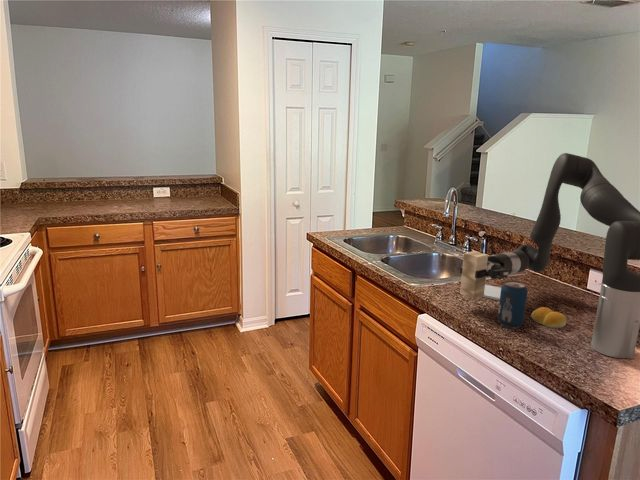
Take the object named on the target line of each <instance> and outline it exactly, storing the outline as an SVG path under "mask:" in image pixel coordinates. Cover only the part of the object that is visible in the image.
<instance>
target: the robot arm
mask: <svg viewBox="0 0 640 480" xmlns="http://www.w3.org/2000/svg"><path fill="white" fill-rule="evenodd" d="M562 184H564V185H569V186H573V187H576V188H580V190H581V192H580V195H579V196H580V197H579V199H580V204H581V205H582V207H583V208H584V209H585V211H586V212H587V214H588V215H589V216H590V217H592V219H593V220H595V221H597V222H599V223H601V224H602V225H603V224H604V225H605V226H608V227H609V228H608V230H607V232H606V236H605V244H604V254H603V260H602V261H603V262H602V280H601V285H600V291H599V297H598V304H597V309H596V313H595V320H594V325H593V332H592V337H591V342H590V343H591V344H590V346H591V349H593V350H594V351H596V352H598V353H599V354H602V355H603V356H607V357H611V358H615V359H630V360H634V355H635V351H636V347H637V341H638V337H639V336H638V335H639V330H640V273H639V272H636V271H634V270H632V269H629V268H628V260H629V261H630V260H631V261H632V260H633V261H640V210H639V209H638V208H636V207H635V206H634V205H633V204H632V203H631V202H630V201H629V200H628V199H627V198H625V197H624V195H623V194H622V193H621V191H619V190H618V189H617V188H616V187H615V186H614V185H613V184H612V183H611V182H610V181H609V180H608V179H607V178H606V177H605V176H604V175H603V173H602V172H601V171H600V169H599V167H598V165H597V164H596V162H594V161H593V160H592V159H591V158H588V157H585V156H581V155H576V154H572V153H569V152H564V153H561V154H560V155H558V157H557V159H556V160H555V161H554V163H553V165H552V169H551V171H550V175H549V178H548V182H547V185H546V189H545V193H544V196H543V201H542V204H541V208H540V211H539V212H538V213H539V214H538V216H537V219H536V221H535V223H534V225H533V228H532V229H531V231H530V236H529V237H530V239H531V240H532V242H534V243H535V244H536V246H537V248H536V247H535V246H533V245H531V244H521V245H520V246H519V247H517V248H516V249H515V250H514V251H509V252H508V251H507V252H500V253H495V254H491V255H488V261H487V268H486V269H485V270H484V269H483V270H479V271H476V272H475V278H477V279H478V278H482V277H486V279H487V278H490V279H493V280H495V279H496V280H497V279H505V278H509V276H511V275H515V274H517V273H520V272H521V273H522V272H523V271H526V270H527V269H530V270H531V271H532V272H535V273H540V272H543V271H545V270H546V269H547V267H548V265H549V263H550V258H551V250H552V247H553V246H552V244H553V241H554V239H555V236H556V234H557V232H558V230H559V227H560V224H561V216H562V215H561V209H560V203H559V195H560V194H559V193H560V189H561V188H562ZM462 266H463V265H462ZM462 266H460V267H459V273H460V274H461V275H462V268H463V267H462Z"/></svg>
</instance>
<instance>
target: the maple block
mask: <svg viewBox="0 0 640 480" xmlns="http://www.w3.org/2000/svg"><path fill="white" fill-rule="evenodd" d="M462 255H463V258H462V267H463V268H462V274H461V276H460V277H461V279H460V290H459V291H460V292H459V294H460V295H462V296H464V297H467V298H470V299H472V300H474V299H478V298H483V297H482V296H484V290H485V285H486V281H487V280H486V279H487V278H486V277H482V278H478V279H477V278H475V272H476V271H479V270H483V269H484V270H485V269H486V268H487V261H488V257H489V254H487V253H483V252H479V251H475V250H472V251H468V252H464V253H463V254H462Z"/></svg>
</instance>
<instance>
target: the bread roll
mask: <svg viewBox="0 0 640 480" xmlns="http://www.w3.org/2000/svg"><path fill="white" fill-rule="evenodd" d="M530 316H531V319H532V320H533V322H535V323H537V324H540V325H543V326H544V327H546V328H551V329H553V328H554V329H556V328H557V329H559V328H560V329H561V328H564V327H566V324H567V317H566V316H565V315H564V314H563V313H561V312H558V311H554V310H552V309H551V308H549V307H544V306H543V307H542V306H541V307H539V308H536V309H535V310H533V311H532V313H531V315H530Z"/></svg>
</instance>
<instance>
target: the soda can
mask: <svg viewBox="0 0 640 480" xmlns="http://www.w3.org/2000/svg"><path fill="white" fill-rule="evenodd" d="M500 288H501V294H500V301H499V305H498V311H497V312H498V313H497V320H498V323H499V324H500V325H501V326H503V327H506V328H511V329H517V328H520V327H521V326H522V325H523V324H524V321H525V314H526V306H527V299H528V289H527V285H526V283H524V282H521V281H518V280H506V281H504V282H503V285H502V286H501V287H500Z"/></svg>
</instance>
